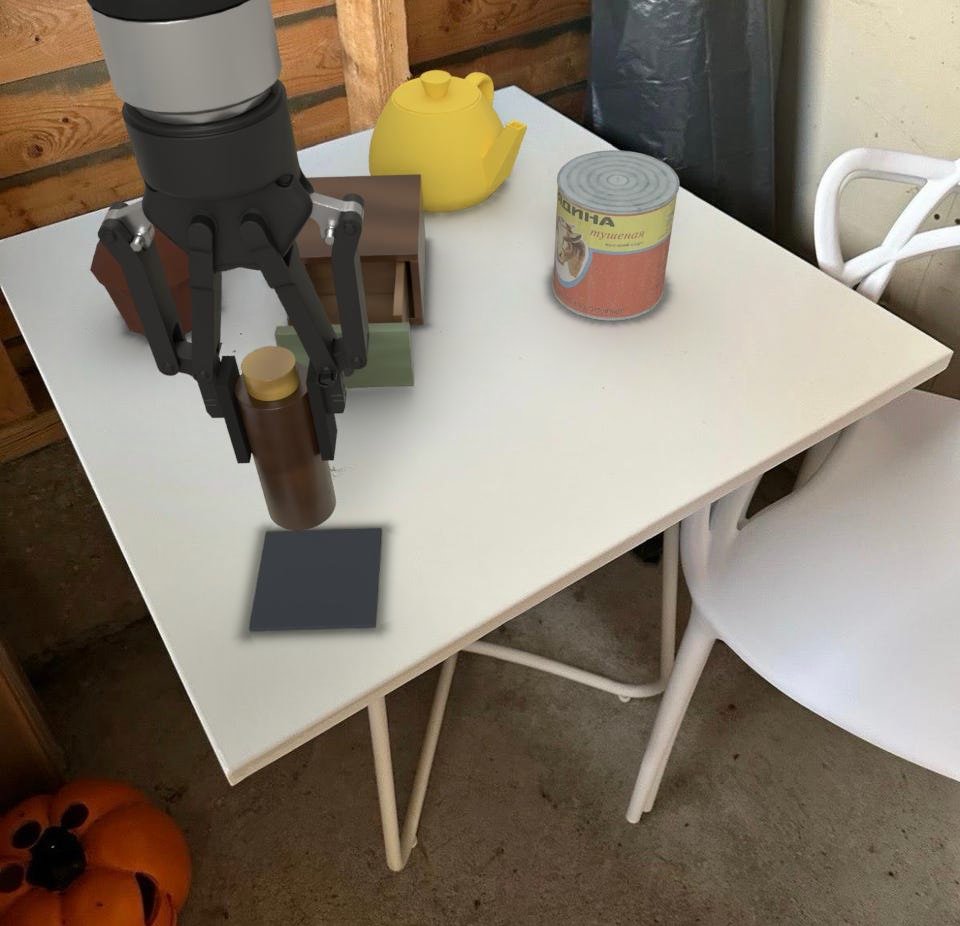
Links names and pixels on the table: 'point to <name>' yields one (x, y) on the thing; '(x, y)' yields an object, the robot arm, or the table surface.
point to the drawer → (385, 323)
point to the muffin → (119, 291)
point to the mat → (317, 580)
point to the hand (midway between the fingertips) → (288, 446)
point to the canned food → (613, 233)
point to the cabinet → (378, 227)
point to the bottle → (284, 439)
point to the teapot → (446, 139)
